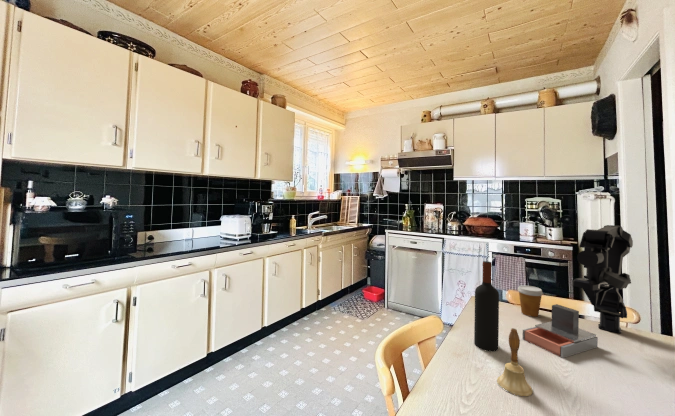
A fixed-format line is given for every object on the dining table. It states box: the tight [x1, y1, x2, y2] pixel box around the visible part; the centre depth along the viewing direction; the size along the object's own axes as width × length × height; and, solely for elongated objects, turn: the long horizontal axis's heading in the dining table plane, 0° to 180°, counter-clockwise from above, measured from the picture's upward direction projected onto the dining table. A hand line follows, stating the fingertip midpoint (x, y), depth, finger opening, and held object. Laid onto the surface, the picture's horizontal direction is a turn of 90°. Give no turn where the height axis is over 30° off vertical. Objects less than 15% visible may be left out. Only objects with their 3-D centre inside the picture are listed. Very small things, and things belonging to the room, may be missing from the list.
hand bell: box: [496, 328, 534, 397], centre depth 75 cm, size 8×8×16 cm
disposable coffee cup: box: [517, 284, 544, 318], centre depth 124 cm, size 10×10×12 cm
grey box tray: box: [522, 326, 599, 359], centre depth 98 cm, size 19×13×4 cm
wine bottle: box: [473, 260, 500, 352], centre depth 96 cm, size 8×8×30 cm
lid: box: [534, 303, 597, 342], centre depth 99 cm, size 13×13×9 cm
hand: (596, 304), depth 101 cm, fingers open, 3 cm apart
